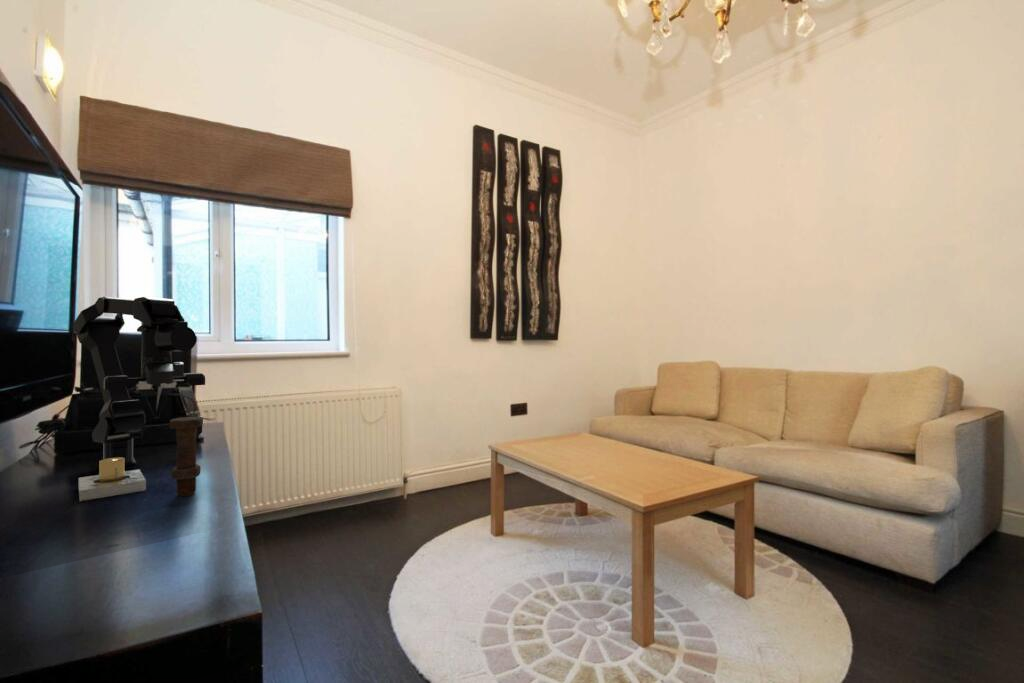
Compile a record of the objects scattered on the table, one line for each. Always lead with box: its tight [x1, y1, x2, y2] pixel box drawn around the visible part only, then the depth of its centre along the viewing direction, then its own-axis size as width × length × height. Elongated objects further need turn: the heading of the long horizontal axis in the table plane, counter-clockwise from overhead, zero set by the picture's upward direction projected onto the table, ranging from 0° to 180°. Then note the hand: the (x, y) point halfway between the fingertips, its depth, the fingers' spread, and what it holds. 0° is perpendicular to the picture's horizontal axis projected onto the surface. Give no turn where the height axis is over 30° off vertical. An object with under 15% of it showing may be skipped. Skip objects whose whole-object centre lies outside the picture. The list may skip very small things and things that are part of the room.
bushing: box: [98, 457, 126, 483], centre depth 98 cm, size 4×4×6 cm
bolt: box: [168, 416, 204, 497], centre depth 94 cm, size 6×5×15 cm
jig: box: [78, 468, 147, 502], centre depth 98 cm, size 12×10×2 cm
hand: (156, 417), depth 112 cm, fingers closed
